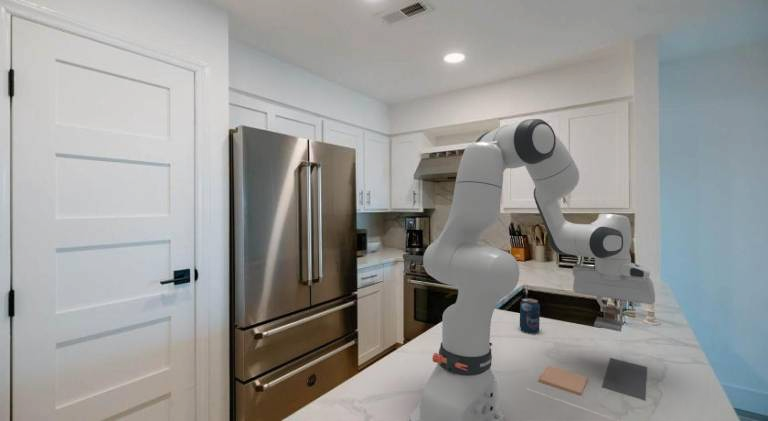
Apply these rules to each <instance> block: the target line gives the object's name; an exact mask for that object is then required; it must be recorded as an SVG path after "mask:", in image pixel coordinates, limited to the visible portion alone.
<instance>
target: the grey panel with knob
mask: <svg viewBox="0 0 768 421" xmlns="http://www.w3.org/2000/svg"><path fill="white" fill-rule="evenodd" d="M616 307H618V304H612V303H607V308H606V310H605V312H604V317H599V316H597V317H596V319H595V320H594V323H593V327H596V328H602V329H606V330H612V331H616V332H622V328H623V327H622V326H623V321H622V320H617V315H618V314H616Z"/></svg>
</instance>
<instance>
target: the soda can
mask: <svg viewBox="0 0 768 421" xmlns="http://www.w3.org/2000/svg"><path fill="white" fill-rule="evenodd" d="M540 311H541V305H540V304H539V300H538V299H534V298H531V297H530V298H529V297H525V298H521V301H520V303H519V327H520V328H519V329H520V330H521V332H523V333H525V334H528V335H529V334H530V335H536V334H538V333H539V331H540V314H541V312H540Z"/></svg>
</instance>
